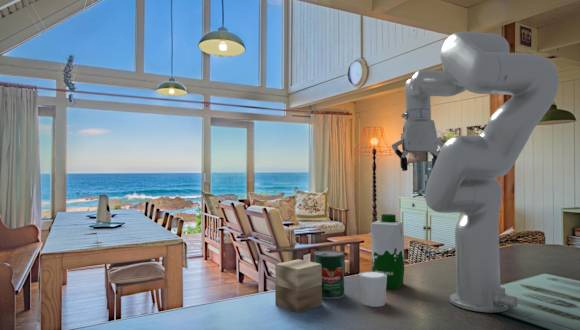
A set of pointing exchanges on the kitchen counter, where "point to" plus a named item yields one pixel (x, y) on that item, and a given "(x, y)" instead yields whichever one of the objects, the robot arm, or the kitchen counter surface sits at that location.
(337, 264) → the canned tomato
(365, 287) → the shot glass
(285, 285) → the block upper
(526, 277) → the kitchen counter surface
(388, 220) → the milk carton
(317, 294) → the block lower
